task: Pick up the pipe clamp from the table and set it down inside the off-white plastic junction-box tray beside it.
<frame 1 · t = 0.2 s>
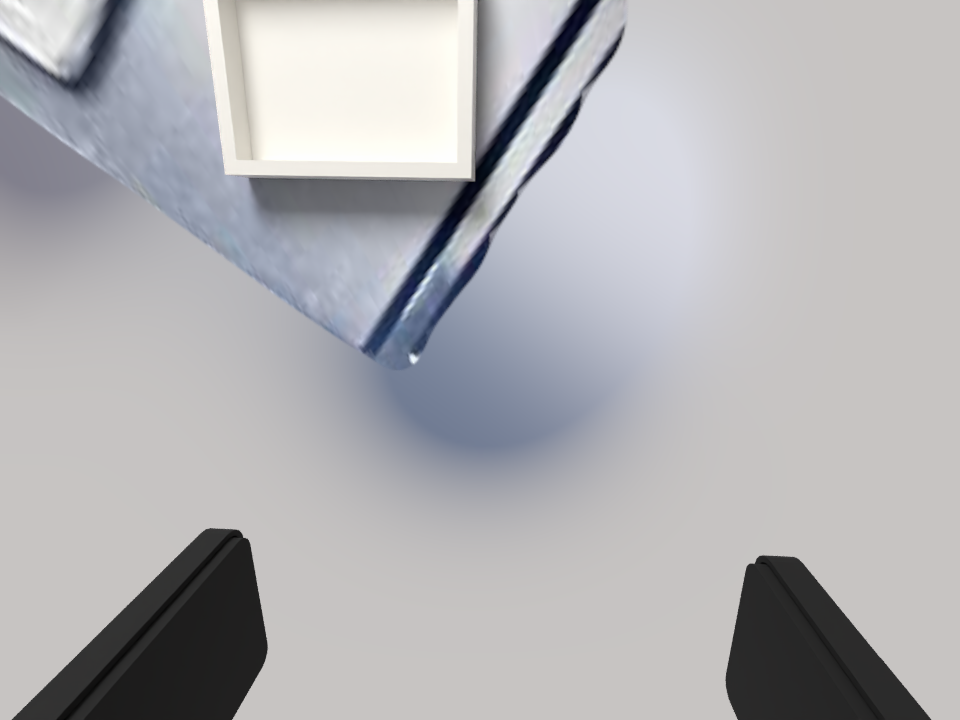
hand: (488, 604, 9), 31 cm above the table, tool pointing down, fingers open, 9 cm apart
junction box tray: (354, 77, 34), on the table
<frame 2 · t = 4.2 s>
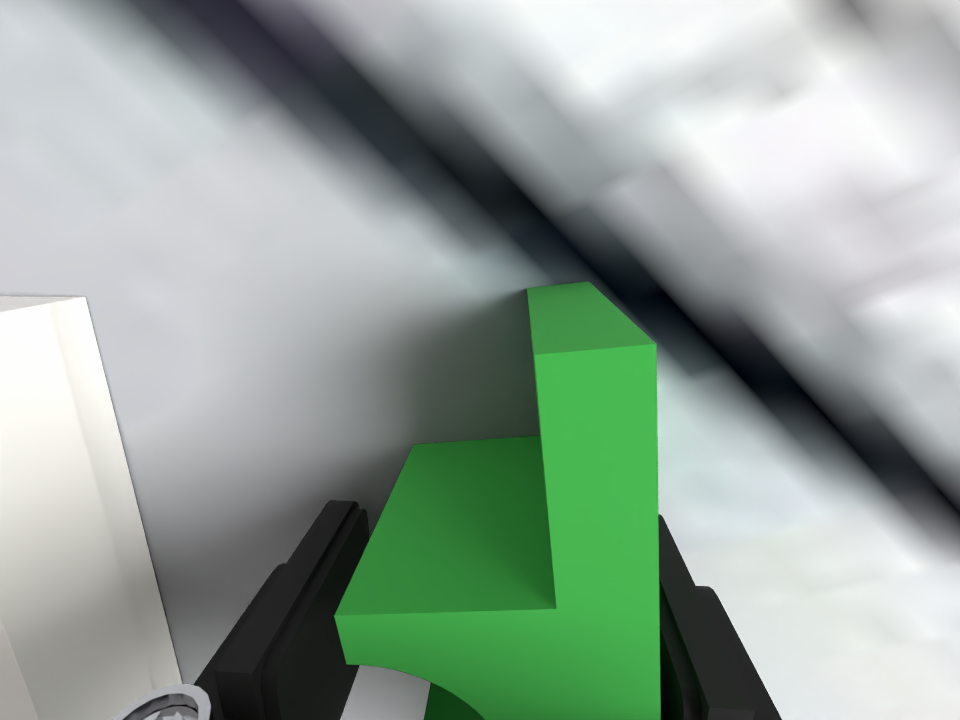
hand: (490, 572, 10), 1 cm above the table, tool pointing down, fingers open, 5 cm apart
pipe clamp: (520, 534, 10), on the table, touching gripper
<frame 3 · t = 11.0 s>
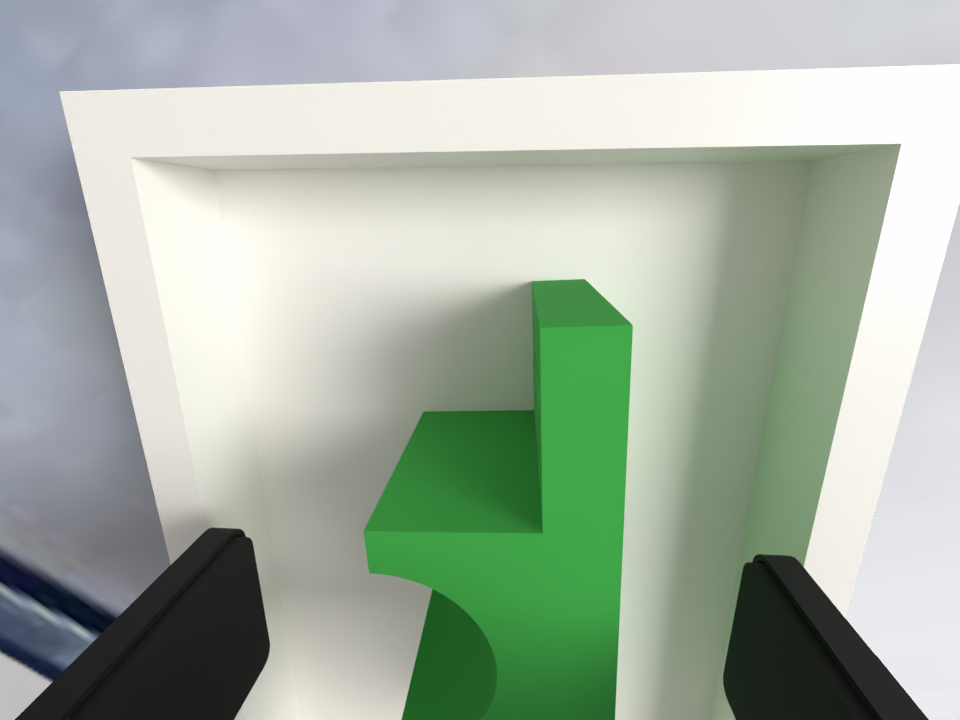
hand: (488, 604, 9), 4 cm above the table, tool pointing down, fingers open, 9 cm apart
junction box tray: (497, 492, 13), on the table
pipe clamp: (510, 499, 12), point 1 cm above the table, touching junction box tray
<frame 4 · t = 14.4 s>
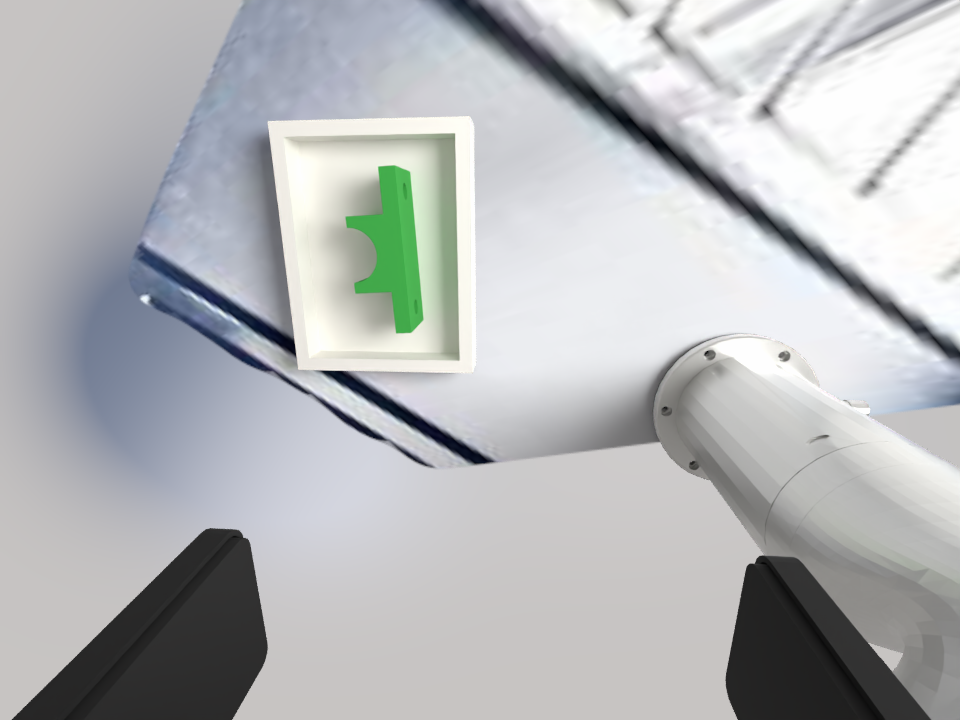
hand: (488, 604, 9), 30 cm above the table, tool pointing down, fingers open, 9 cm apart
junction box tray: (387, 251, 37), on the table
pipe clamp: (395, 248, 37), point 1 cm above the table, touching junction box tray
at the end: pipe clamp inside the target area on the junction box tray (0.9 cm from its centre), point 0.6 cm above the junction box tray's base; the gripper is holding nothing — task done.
